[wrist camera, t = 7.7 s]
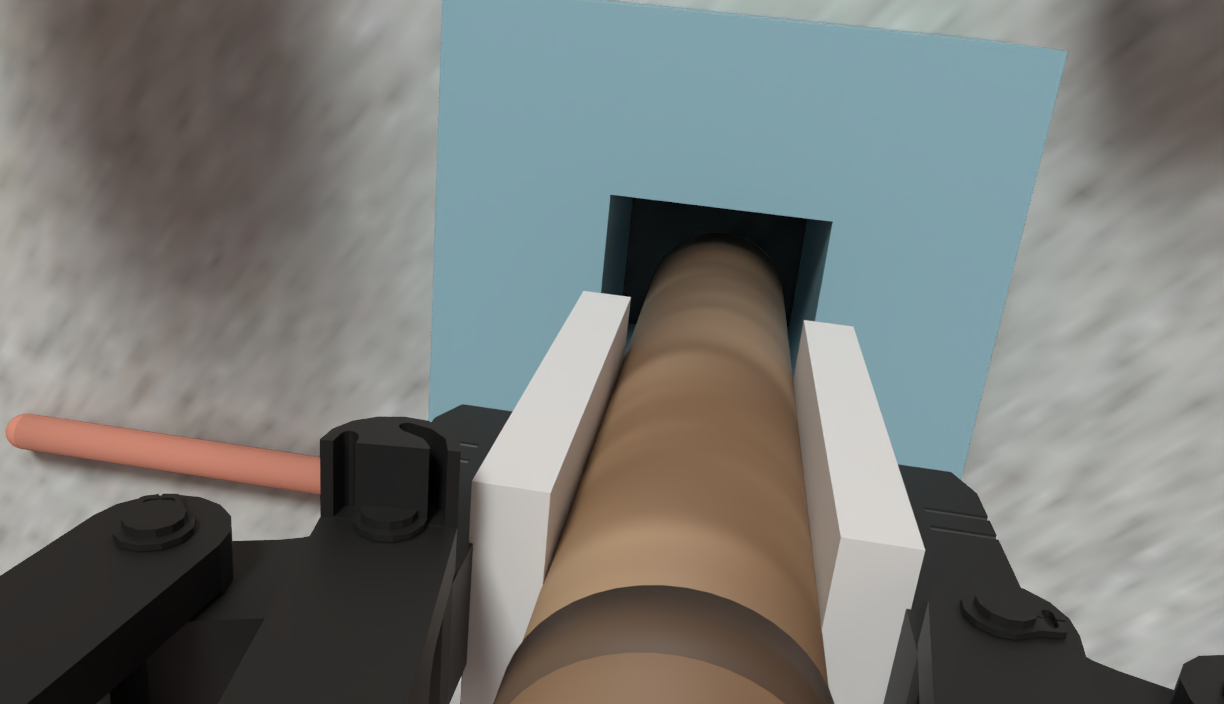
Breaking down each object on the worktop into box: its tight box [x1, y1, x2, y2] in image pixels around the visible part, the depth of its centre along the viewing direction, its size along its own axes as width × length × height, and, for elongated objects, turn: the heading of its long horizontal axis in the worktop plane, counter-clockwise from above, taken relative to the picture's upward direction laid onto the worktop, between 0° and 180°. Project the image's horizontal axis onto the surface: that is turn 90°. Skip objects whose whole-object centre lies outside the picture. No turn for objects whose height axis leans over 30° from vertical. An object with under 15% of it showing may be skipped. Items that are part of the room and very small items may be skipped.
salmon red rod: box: [6, 414, 320, 494], centre depth 27 cm, size 12×1×1 cm, turn 84°
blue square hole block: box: [429, 0, 1068, 480], centre depth 21 cm, size 11×11×5 cm
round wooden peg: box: [493, 232, 834, 704], centre depth 14 cm, size 3×3×15 cm
